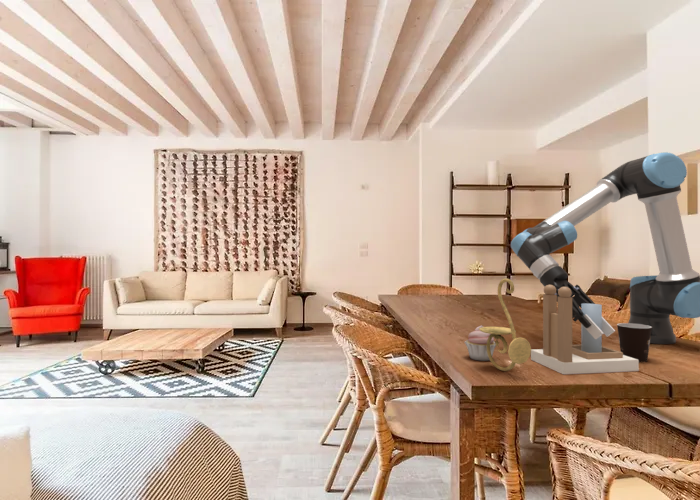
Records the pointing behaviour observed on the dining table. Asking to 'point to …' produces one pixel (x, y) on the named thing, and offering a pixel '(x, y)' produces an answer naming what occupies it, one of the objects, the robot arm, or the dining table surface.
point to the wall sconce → (519, 346)
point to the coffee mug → (634, 340)
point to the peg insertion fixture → (559, 342)
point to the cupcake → (479, 345)
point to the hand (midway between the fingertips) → (605, 334)
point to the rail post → (586, 338)
